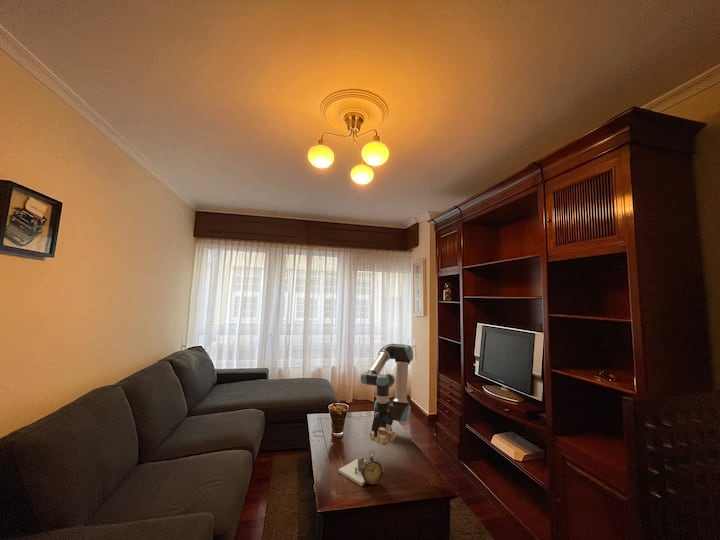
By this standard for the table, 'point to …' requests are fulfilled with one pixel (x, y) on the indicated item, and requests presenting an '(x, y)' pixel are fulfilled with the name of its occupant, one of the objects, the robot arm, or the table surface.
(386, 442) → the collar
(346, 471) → the post board
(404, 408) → the robot arm
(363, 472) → the alarm clock
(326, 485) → the table surface
